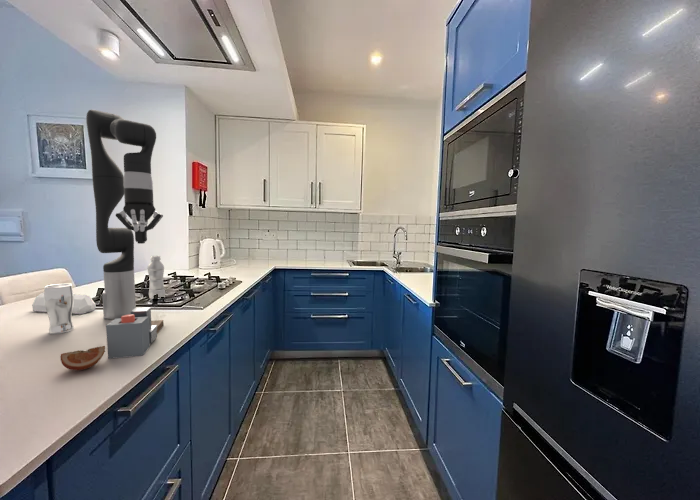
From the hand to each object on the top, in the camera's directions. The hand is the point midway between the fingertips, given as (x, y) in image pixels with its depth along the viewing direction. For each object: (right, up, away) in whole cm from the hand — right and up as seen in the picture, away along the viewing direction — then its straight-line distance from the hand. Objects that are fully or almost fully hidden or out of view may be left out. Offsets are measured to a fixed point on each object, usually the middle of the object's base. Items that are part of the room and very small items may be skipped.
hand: (141, 243), depth 100 cm
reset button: (+6, -27, -13) cm, 31 cm away
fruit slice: (+1, -32, -23) cm, 39 cm away
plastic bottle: (-22, -25, +44) cm, 55 cm away
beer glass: (-28, -29, +3) cm, 40 cm away
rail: (+3, -29, -1) cm, 29 cm away
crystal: (-46, -27, +25) cm, 59 cm away
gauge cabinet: (+6, -30, -13) cm, 34 cm away
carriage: (+4, -30, -6) cm, 31 cm away
